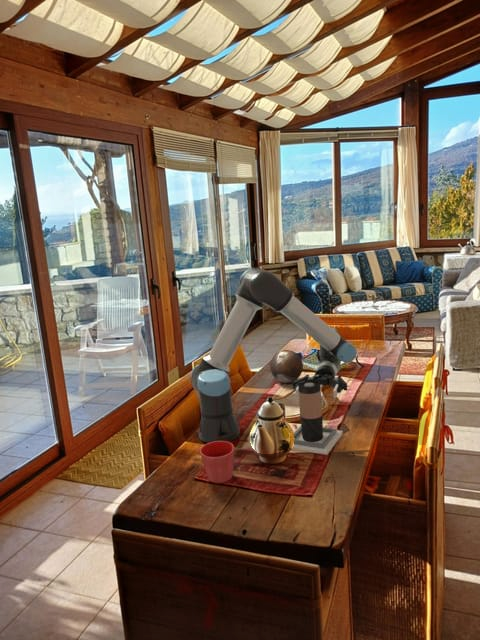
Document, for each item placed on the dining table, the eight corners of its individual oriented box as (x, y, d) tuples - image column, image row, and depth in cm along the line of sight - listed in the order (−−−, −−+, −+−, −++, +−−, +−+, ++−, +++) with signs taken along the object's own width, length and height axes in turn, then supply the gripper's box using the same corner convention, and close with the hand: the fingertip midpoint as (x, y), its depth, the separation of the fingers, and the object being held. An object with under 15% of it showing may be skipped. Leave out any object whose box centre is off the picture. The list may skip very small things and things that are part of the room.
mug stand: (282, 447, 177) (281, 441, 176) (300, 428, 190) (299, 422, 190) (327, 454, 169) (326, 448, 169) (342, 434, 183) (342, 427, 182)
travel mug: (323, 442, 175) (319, 387, 171) (300, 442, 177) (296, 387, 172) (324, 432, 182) (321, 379, 178) (302, 432, 184) (298, 379, 180)
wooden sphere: (268, 387, 234) (266, 356, 231) (274, 376, 248) (271, 346, 245) (301, 387, 231) (299, 355, 227) (305, 376, 245) (303, 345, 241)
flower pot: (207, 489, 155) (203, 460, 153) (200, 472, 166) (196, 444, 164) (241, 481, 158) (238, 452, 156) (232, 465, 168) (229, 437, 166)
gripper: (358, 383, 201) (351, 405, 181) (295, 381, 209) (282, 402, 190) (357, 365, 199) (350, 384, 180) (294, 364, 207) (280, 382, 188)
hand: (315, 393), depth 185 cm, fingers open, 13 cm apart
